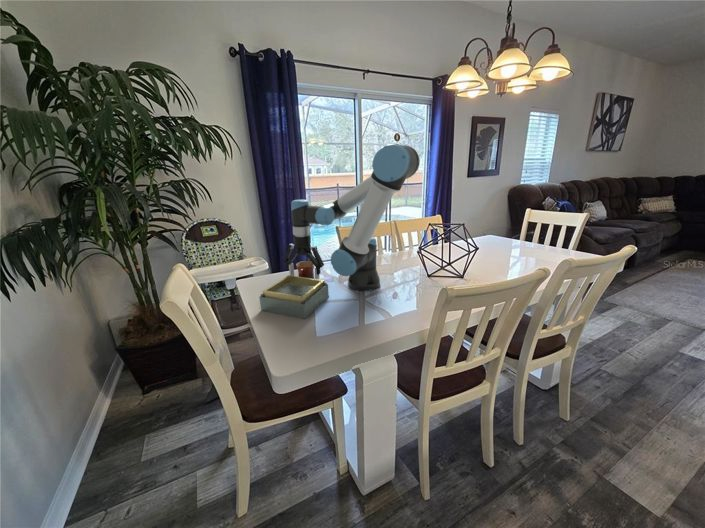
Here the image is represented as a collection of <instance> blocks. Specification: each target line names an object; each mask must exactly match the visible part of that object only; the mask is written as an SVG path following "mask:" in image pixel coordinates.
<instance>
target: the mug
mask: <svg viewBox="0 0 705 528" xmlns="http://www.w3.org/2000/svg"><path fill="white" fill-rule="evenodd" d="M295 266H296V268H297V269H296V270H297V272H298V273H297V274H298V275H297V277H304V278H311V279H315V269H314V268H315V266H314V264H313V263H312V262H311V260H310V261H309V260H304V261H299V262H296V264H295Z"/></svg>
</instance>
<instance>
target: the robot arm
mask: <svg viewBox="0 0 705 528" xmlns="http://www.w3.org/2000/svg"><path fill="white" fill-rule="evenodd" d="M420 161H421V160H420V155H419V153H418V152H417V151H416V149H415V148H413V147H412V146H410V145H402V144H399V143H391V144H386V145H383V146H382V147H380V148H379V149H378V150H377V151H376V152H375V154H374V157H373V158H372V169H373V170H372V173H371V175H370V176H368V177H367V178H366V179H364V180H363V181H362V182H360V183H358V184H357V185H356V186H354V187H353V188H351V189H350V190H349V191H347V192H345V193H344V194H342V195H341V196H339V198H337V199H336V200H334V201H333V202H330V203H326V204H322V205H310V204H309V203H310V202H309V200H308V199H294V200H292V201H291V204H290V205H291V208H290V212H291V221H292V235H293V243H289V244H288V246H287V251H286V254H285V255H284V259H283V263H284V264H285V263H286V264H287V270H288V271H289V276H295V267H294V263H293V261H294V260H295V259H296V258H297V256H304V257H305V256H306V257H307V258H308V259H309V260H310V261H311V262H312V263H313V264H314V279H318V280H320V275H321V268H322V267H324V266H325V263H324V261H323V259H322V258H321V255H320V253H319V250H318V246H317V245H315V246H312V245H311V242H312V241H311V235H310V234H311V229H310V228H311V225H310V224H315V225H322V226H330V225H331V224H333V222H334V221H335V220H340V219H342V218H344V217H346V215H347V214H348V213H350V212H351V211H352V210H354V209H356V208H357V207H359V206H360V205H361V207H360V209H359V212H358V214H357V217H356V218H355V220H354V223H353V224H352V227H351V230H350V232H349V234H348V236H345V237H343V238H342V240H341V243H340V245H339V247H338V248H337V249H336V250H335V251H334V252H332V253H331V255H330V265H332V268H333V270H334V271H335V272H336V273H337V274H338V275H340V276H342V277H348V278H347V286H348V287H349V288H351V289H353V290H356V291H372V290H375V289H377V288H380V286H381V280H380V276H379V273H378V270H377V253H378V252H377V251H378V249H377V248H378V244H377V239H376V238H375V237H373V235H374V234H375V231H376V230H377V228H378V226H379V223H380V222H381V219H382V218H383V215H384V214H385V212H386V210H387V208H388V205H389V204H390V202H391V200H392V197H393V196H394V193H397V192H400V191H401V189H402V188H403V185H404V183H405V181H406V180H407V179H409V178H412V177H413V176H414V175H415V174H416V172H417V171H418V170H419V167H420ZM293 249H294V252H293Z"/></svg>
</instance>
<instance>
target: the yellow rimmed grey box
mask: <svg viewBox="0 0 705 528" xmlns="http://www.w3.org/2000/svg"><path fill="white" fill-rule="evenodd" d="M325 281H326V280H325V279H319V280H318V279H315V278H314V279H311V278H304V277H298V276H296V275H294V276H290V274H288V275H287V276H285V277H283V278H282V279H280V280H279V281H277V282H275V283H273V284H272V285H270V286H269V287H267V288H266V289H264V290H262V291H261V292H262V293H260V296H259V297H258V298H259V302H260V310H261V311H263V312H269V313H273V314H277V315H283V316H289V317H294V318H298V319H299V318H300V319H303V320H304V319H307V318H308V317H309V316H310V315H311V314H312V313H314V311H315V310H317V308H318V307H320V306H321V305H322V304H323V303H324V302H326V300H327V299H328V298H329V283H327V282H325Z"/></svg>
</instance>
